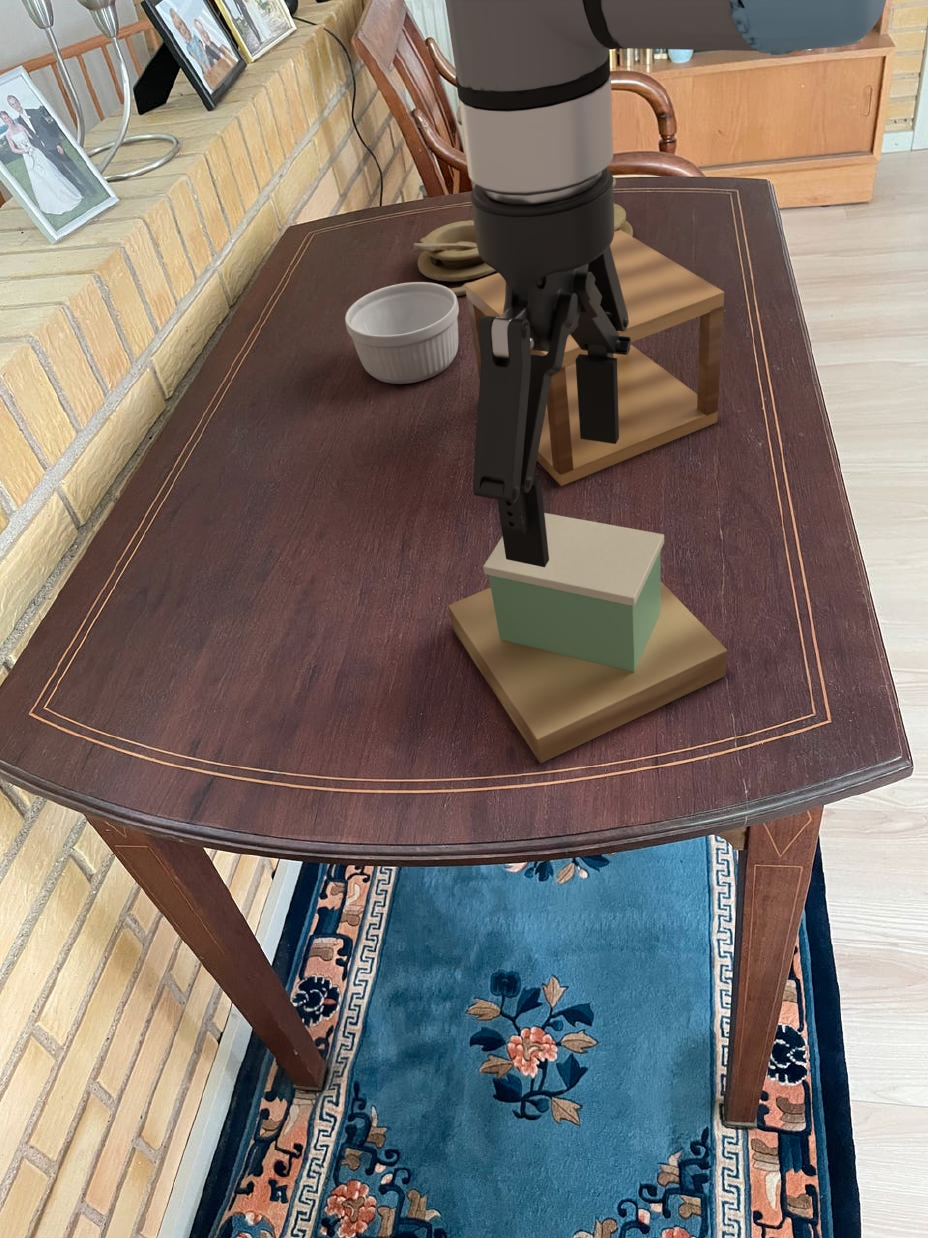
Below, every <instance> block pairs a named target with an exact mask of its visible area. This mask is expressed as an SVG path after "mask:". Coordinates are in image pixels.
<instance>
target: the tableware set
mask: <svg viewBox="0 0 928 1238" xmlns="http://www.w3.org/2000/svg"><path fill="white" fill-rule="evenodd" d="M616 179H617V178H616V177H614V176H613V189H614V188H615V186H616V185H617V180H616ZM626 219H627V212H626V210H625V209H624V208H623V207H622V206H621V205H619V204H618V203H615V202H614V232H615V231H618V230H622V231H623V232H625V233H627V234H628V235H630V236H632V237H633V235H634V230H633V227H632V225H631V224H630V223H629V221H627V220H626ZM419 241H420V242H414V243H413V246H412V249H413V250H414V251H415V250H416V251H419V252H421V253H420V255H419V256H418V258H417V268H418V271H419V272H420V273H421V274H422V275H424V276H425V277H427V278H429V279H431V280H435V281H437V282H438V281H440V282H464V281H469V280H474V279H478V278H482V277H484V276H485V277H486V276H489V275H491V274H493V273H494V272H497V271H496V270H495V269H493V268H492V267H490V266H489V265H487V264H486V263H485V262H484V261H483V260H482V258H481V257H480V255H479V253H478V249H477V242H476V235H475V227H474V220H473V219H471V220H461V221H455V222H451V223H448V224H445V225H442V226H440V227H437V228H436V229H434V230H432V231H431V232H429V233H428V234H427V235H426V236H424V237H421V239H420V240H419ZM471 282H472V281H471ZM471 282H466V283H464V284H463V285H462V286H460V287H453V288H452V287H451V288H449V289H450V290H452V291H453V292H454V294H455V295H456V297H461V296H467V295H466V289H465V284H468V283H471Z"/></svg>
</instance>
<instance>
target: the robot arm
mask: <svg viewBox="0 0 928 1238" xmlns="http://www.w3.org/2000/svg"><path fill="white" fill-rule="evenodd" d="M444 2H445V9H446V15H447V21H448V29H449V34H450V36H449V37H450V42H451V49H452V50H451V51H452V55H453V62H454V69H455V77H454V79H455V83H456V91H457V98H458V105H459V106H458V107H457V109H456V113H455V118H456V122H457V123H458V124H459V126H461V130H462V136H463V144H464V151H465V152H464V153H465V158H466V166H467V173H468V178H469V179H470V180H471V182H472V183H473V184H474V187H473V188H472V190H471V193H470V206H471V212H472V218H473V219H472V220H474V227H475V235H476V242H477V249H478V253H479V255H480V257H481V258H482V260H483V261H484V262H485V263H486V264H487V265H489V266H490V267H492V268H493V269H495V270H496V271H495V272H497V273H499V274H500V275H501V276H502V277H503V278H504V279H505V281H506V286H505V303H504V309H503V314H502V315H501V316H500V317H494V316H482V318H481V320H480V322H479V342H480V354H481V372H480V378H479V385H478V386H479V389H478V401H477V402H478V403H477V416H476V430H475V431H476V432H475V447H474V461H473V473H472V474H473V475H472V476H473V478H472V494H473V496H475V497H482V498H486V499H492V500H496V501H497V508H498V514H499V521H500V528H501V535H502V536H503V542H504V549H505V555H506V559H507V560H512V561H517V562H521V563H526V564H531V565H535V566H540V567H545V566H546V565H547V563H548V561H549V553H548V543H547V533H546V524H545V514H544V513H545V505H544V495H543V486H542V478H540V477H536V476H535V471H536V465H537V462H538V461H537V456H538V450H539V444H540V439H541V433H542V428H543V422H544V417H545V411H546V406H547V400H548V395H549V389H550V384H551V378H552V376H553V375H554V374H556V373H558V372H559V371H560V370H561V367H562V363H563V358H564V352H565V347H566V341H567V338H568V336H569V334H570V335H571V336H572V338H573V339H574V340H575V342H576V343H577V344H578V346H579V347H580V348H581V349H582V350H585V351H588V355H584V354H579V355H578V357H577V358H576V376H577V392H578V408H579V424H580V439H585V440H592V441H599V442H605V443H612V444H616V443H617V441H618V439H619V415H618V378H617V358H613V354H622V355H627V354H628V353H629V350H630V346H631V345H632V342H631V339H630V337H624V336H619V335H618V331H623V332H625V331H626V329H627V326H628V324H629V319H628V313H627V309H626V306H625V302H624V298H623V294H622V290H621V286H620V282H619V279H618V275H617V271H616V267H615V263H614V259H613V255H612V252H611V248H610V244H611V243H612V240H613V237H614V203H615V201H614V200H615V198H614V194H615V193H614V188H613V177H614V176H613V173H612V172H611V171H610V170H609V168H608V167H609V165H610V164H611V162H612V161H613V158H614V151H615V150H614V129H613V128H614V127H613V125H614V124H613V101H612V99H613V98H612V75H611V64H610V63H611V62H610V61H611V59H610V58H611V56H610V55H611V54H610V49H613V50H615V49H616V50H627V49H631V50H632V49H637V50H679V51H680V50H681V51H682V50H683V51H685V50H688V51H689V50H690V51H735V52H736V51H737V52H759V53H761V54H770V55H772V56H782V55H789V54H790V53H792V52H795V51H806V50H817V49H828V48H842V47H847V46H851V45H854V44H855V43H857V42H859V41H861V40H862V39H863V38H865V37H866V36H867V35H868V34H869V33H870V32H871V31H872V30H873V29H874V27H875V26H876V25H877V23H878V21H879V20H880V18H881V17H882V15H883V13H884V10H885V8H886V7H885V6H886V3H887V0H444ZM531 350H537V351H546V352H548V353H547V354H546V355H545V356H539V355H531Z"/></svg>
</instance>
